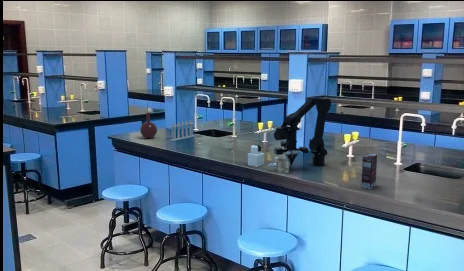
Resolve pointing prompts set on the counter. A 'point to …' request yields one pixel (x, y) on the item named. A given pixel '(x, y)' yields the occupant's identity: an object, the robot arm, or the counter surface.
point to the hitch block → (282, 165)
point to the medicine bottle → (255, 156)
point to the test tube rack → (182, 131)
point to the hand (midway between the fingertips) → (291, 165)
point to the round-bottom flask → (148, 128)
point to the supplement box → (369, 170)
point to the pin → (273, 164)
